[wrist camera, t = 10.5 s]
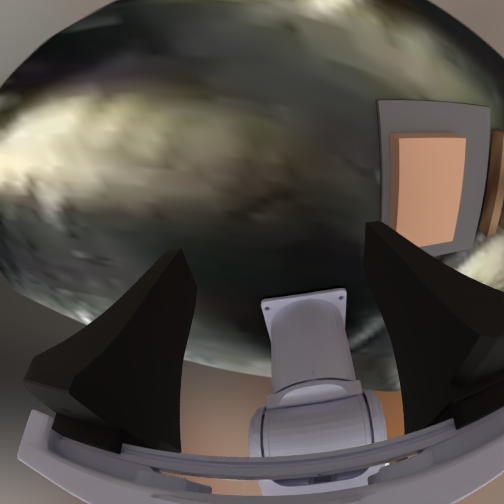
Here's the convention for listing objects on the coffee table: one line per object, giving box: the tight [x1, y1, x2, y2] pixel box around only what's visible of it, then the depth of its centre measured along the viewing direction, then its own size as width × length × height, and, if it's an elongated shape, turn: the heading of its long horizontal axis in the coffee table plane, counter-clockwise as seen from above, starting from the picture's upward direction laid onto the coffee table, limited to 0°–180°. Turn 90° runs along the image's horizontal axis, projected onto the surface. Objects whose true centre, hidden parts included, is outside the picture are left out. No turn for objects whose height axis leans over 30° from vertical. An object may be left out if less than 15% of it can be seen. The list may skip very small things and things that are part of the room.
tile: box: [389, 132, 466, 247], centre depth 18 cm, size 9×2×6 cm
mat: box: [376, 100, 490, 256], centre depth 18 cm, size 14×11×1 cm
